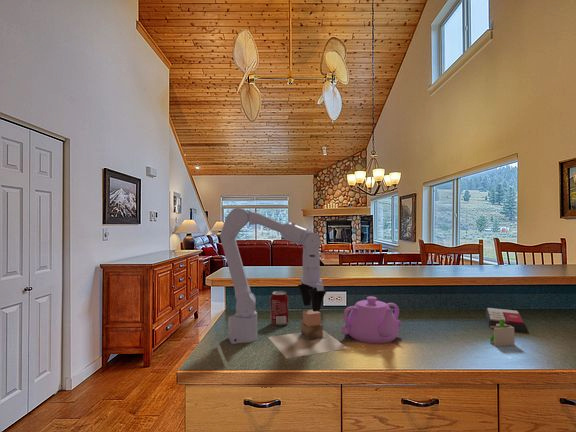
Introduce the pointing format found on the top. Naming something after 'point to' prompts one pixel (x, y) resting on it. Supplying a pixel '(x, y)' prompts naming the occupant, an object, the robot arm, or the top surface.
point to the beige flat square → (305, 344)
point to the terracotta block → (311, 318)
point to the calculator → (505, 318)
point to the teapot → (372, 321)
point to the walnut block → (311, 331)
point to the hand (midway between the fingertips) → (311, 308)
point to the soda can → (279, 308)
